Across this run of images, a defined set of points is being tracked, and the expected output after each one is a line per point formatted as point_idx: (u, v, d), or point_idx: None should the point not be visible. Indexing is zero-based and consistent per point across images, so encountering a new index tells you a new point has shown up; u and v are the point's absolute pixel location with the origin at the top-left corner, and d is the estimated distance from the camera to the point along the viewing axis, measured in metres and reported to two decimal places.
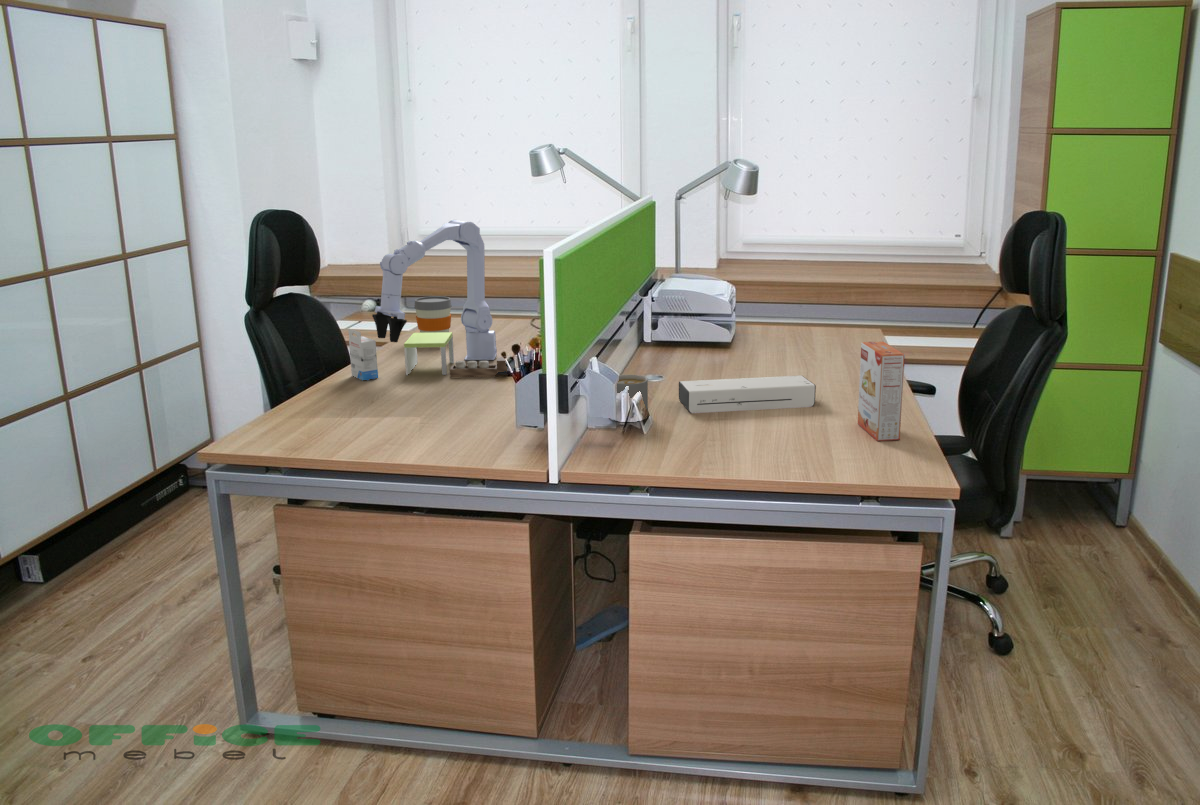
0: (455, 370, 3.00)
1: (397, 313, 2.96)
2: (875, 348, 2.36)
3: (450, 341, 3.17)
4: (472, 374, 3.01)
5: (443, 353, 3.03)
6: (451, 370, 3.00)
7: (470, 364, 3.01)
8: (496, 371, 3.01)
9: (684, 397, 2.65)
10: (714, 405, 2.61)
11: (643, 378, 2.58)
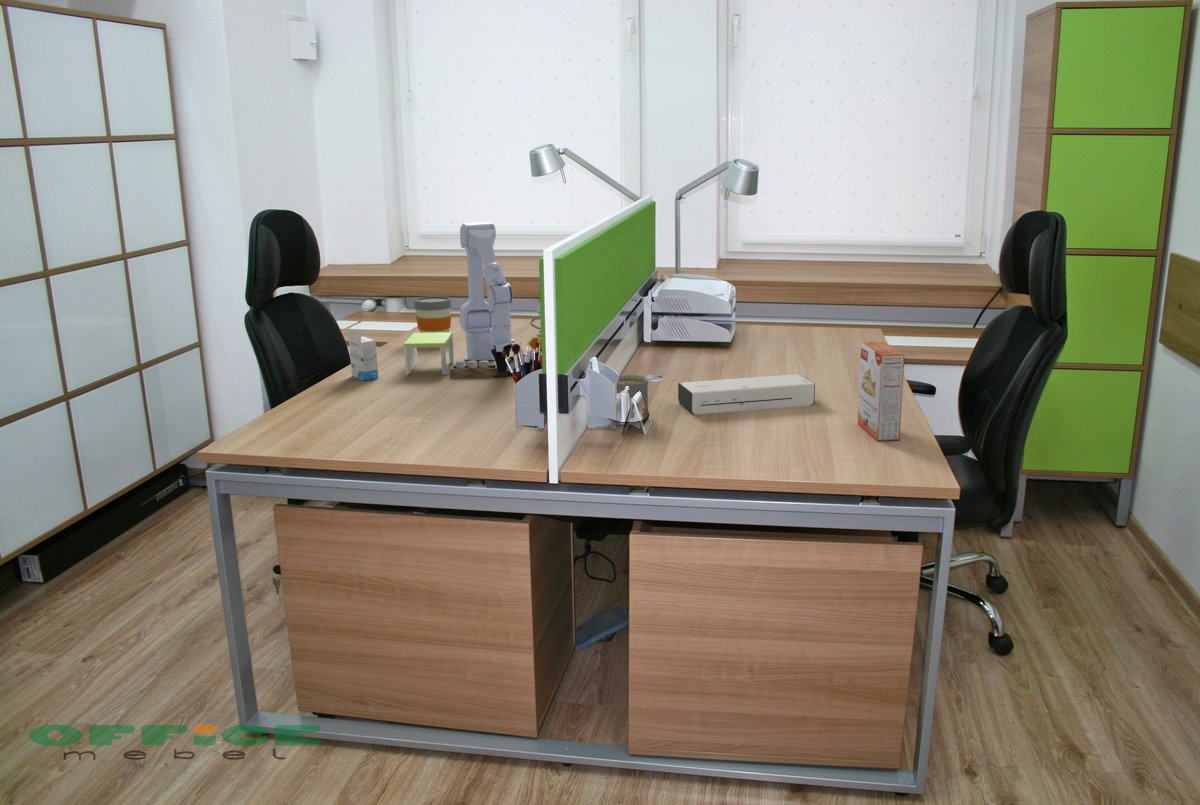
0: (455, 370, 3.00)
1: None
2: (875, 348, 2.36)
3: (450, 341, 3.17)
4: (472, 373, 3.01)
5: (443, 353, 3.03)
6: (451, 370, 3.00)
7: (470, 364, 3.01)
8: (496, 371, 3.01)
9: (686, 398, 2.63)
10: (717, 406, 2.61)
11: (643, 378, 2.58)
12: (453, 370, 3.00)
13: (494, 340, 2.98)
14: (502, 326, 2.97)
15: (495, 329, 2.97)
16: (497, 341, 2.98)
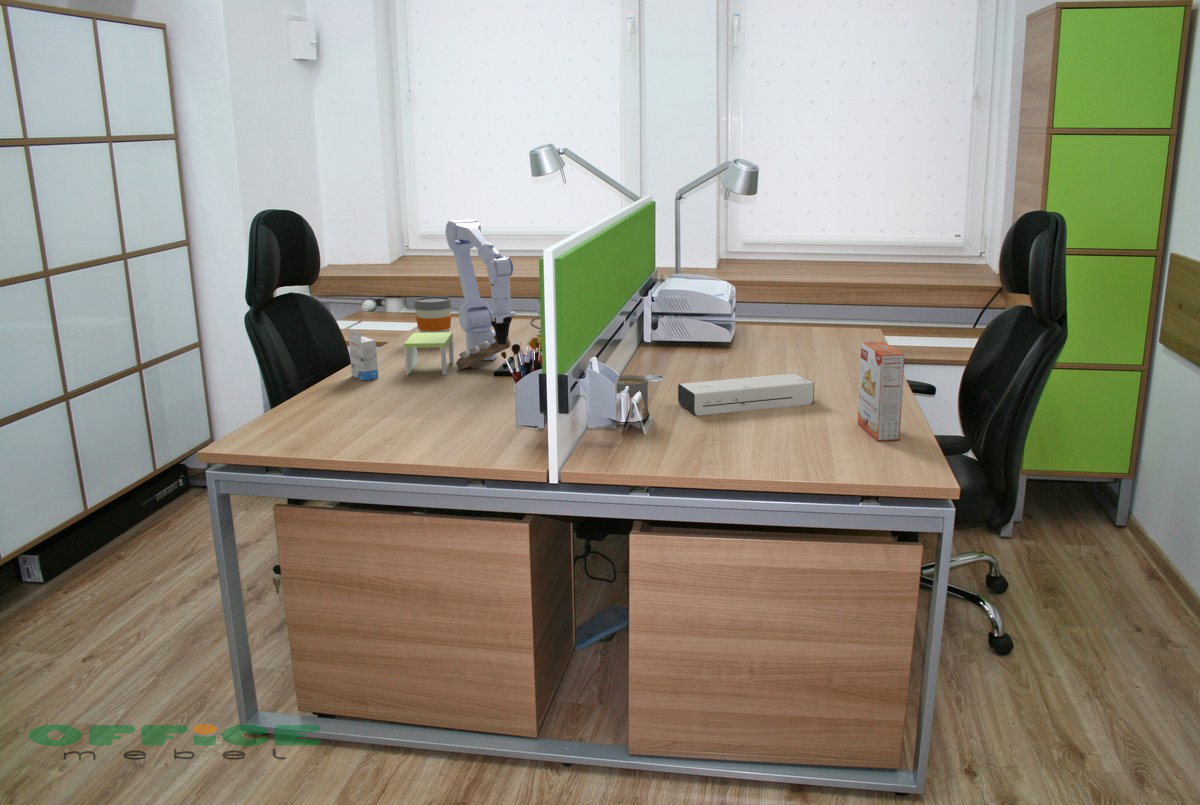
0: (461, 361, 3.09)
1: None
2: (875, 348, 2.36)
3: (450, 341, 3.17)
4: (477, 358, 3.09)
5: (443, 353, 3.03)
6: (457, 363, 3.09)
7: (472, 350, 3.09)
8: (497, 346, 3.08)
9: (687, 399, 2.62)
10: (719, 406, 2.60)
11: (643, 378, 2.58)
12: (459, 362, 3.09)
13: (494, 312, 3.05)
14: (504, 298, 3.04)
15: (495, 301, 3.04)
16: (497, 313, 3.05)
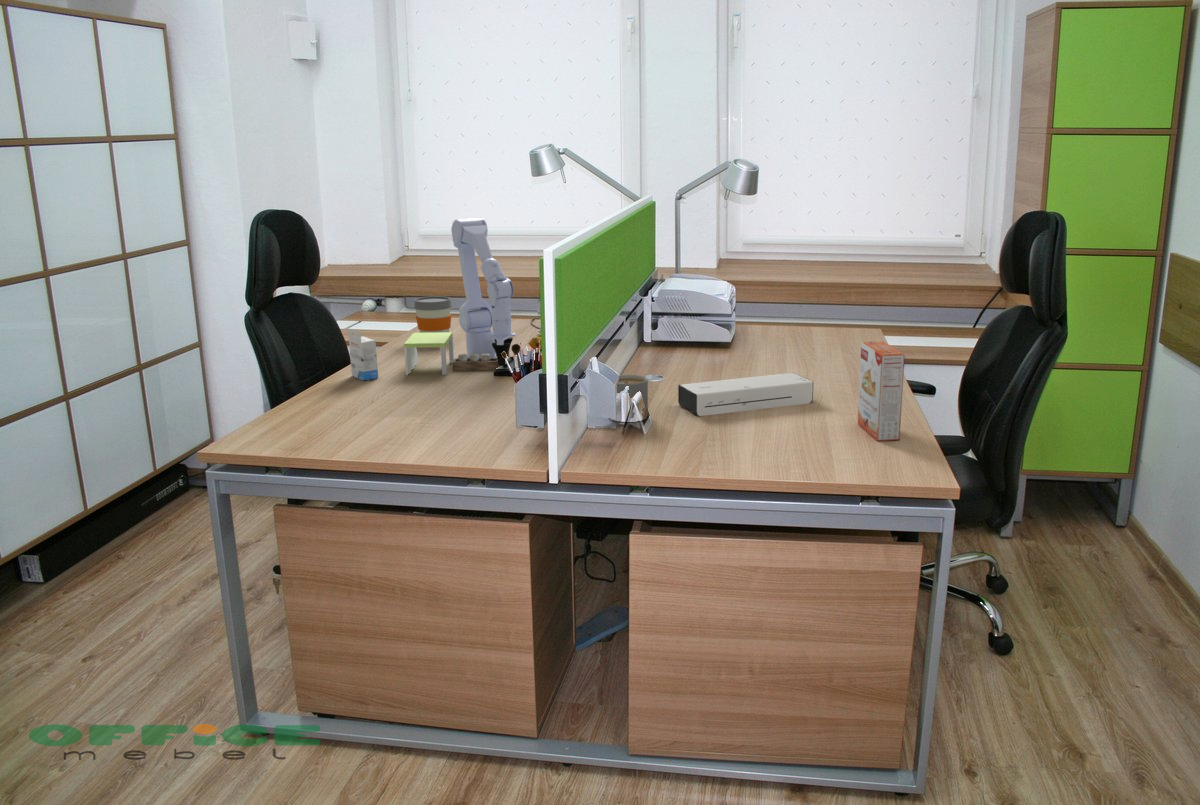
0: (457, 363, 3.09)
1: None
2: (875, 348, 2.36)
3: (450, 341, 3.17)
4: (474, 366, 3.09)
5: (443, 353, 3.03)
6: (454, 363, 3.09)
7: (472, 357, 3.10)
8: (497, 364, 3.09)
9: (688, 400, 2.61)
10: (720, 407, 2.60)
11: (643, 378, 2.58)
12: (456, 363, 3.09)
13: (495, 334, 3.07)
14: (504, 320, 3.05)
15: (496, 323, 3.06)
16: (498, 335, 3.07)
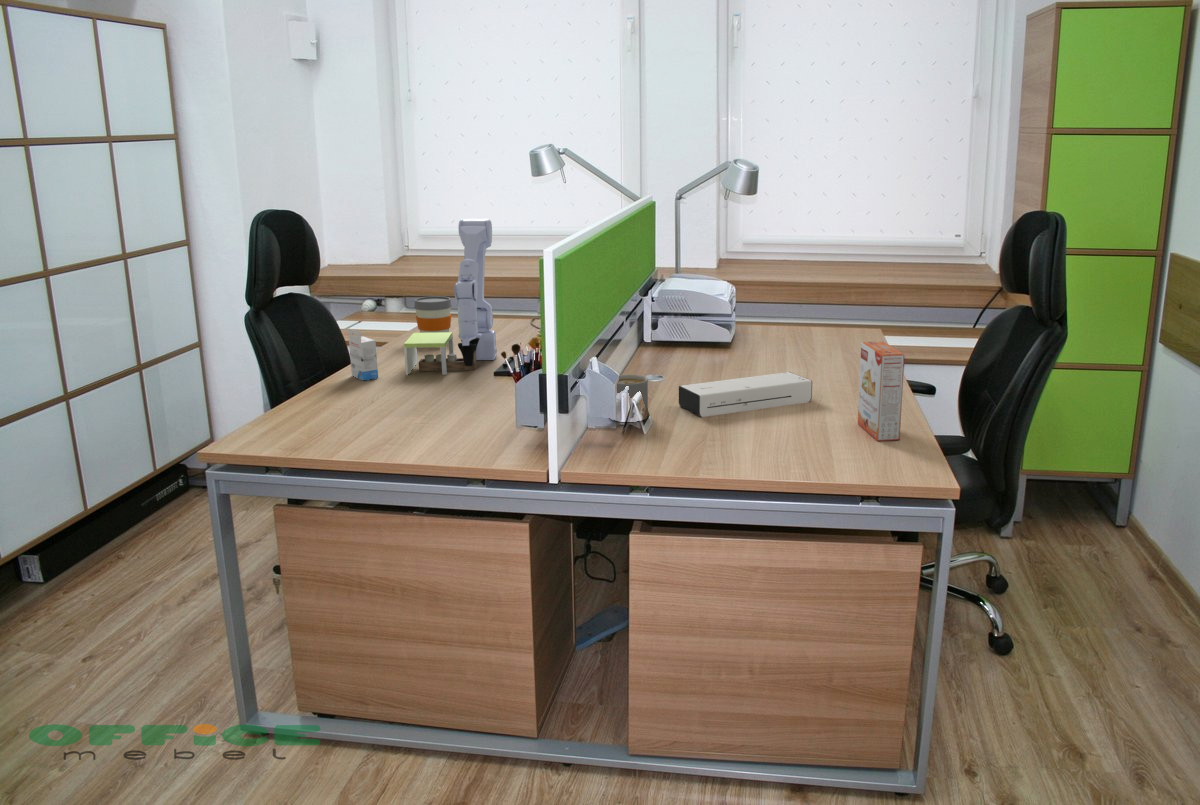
0: (424, 363, 3.09)
1: None
2: (875, 348, 2.36)
3: (450, 341, 3.17)
4: (440, 367, 3.10)
5: (443, 353, 3.03)
6: (420, 363, 3.09)
7: (438, 357, 3.10)
8: (463, 364, 3.09)
9: (690, 401, 2.61)
10: (723, 407, 2.59)
11: (643, 378, 2.58)
12: (422, 363, 3.09)
13: (461, 334, 3.07)
14: (464, 321, 3.05)
15: (462, 324, 3.06)
16: (464, 335, 3.07)
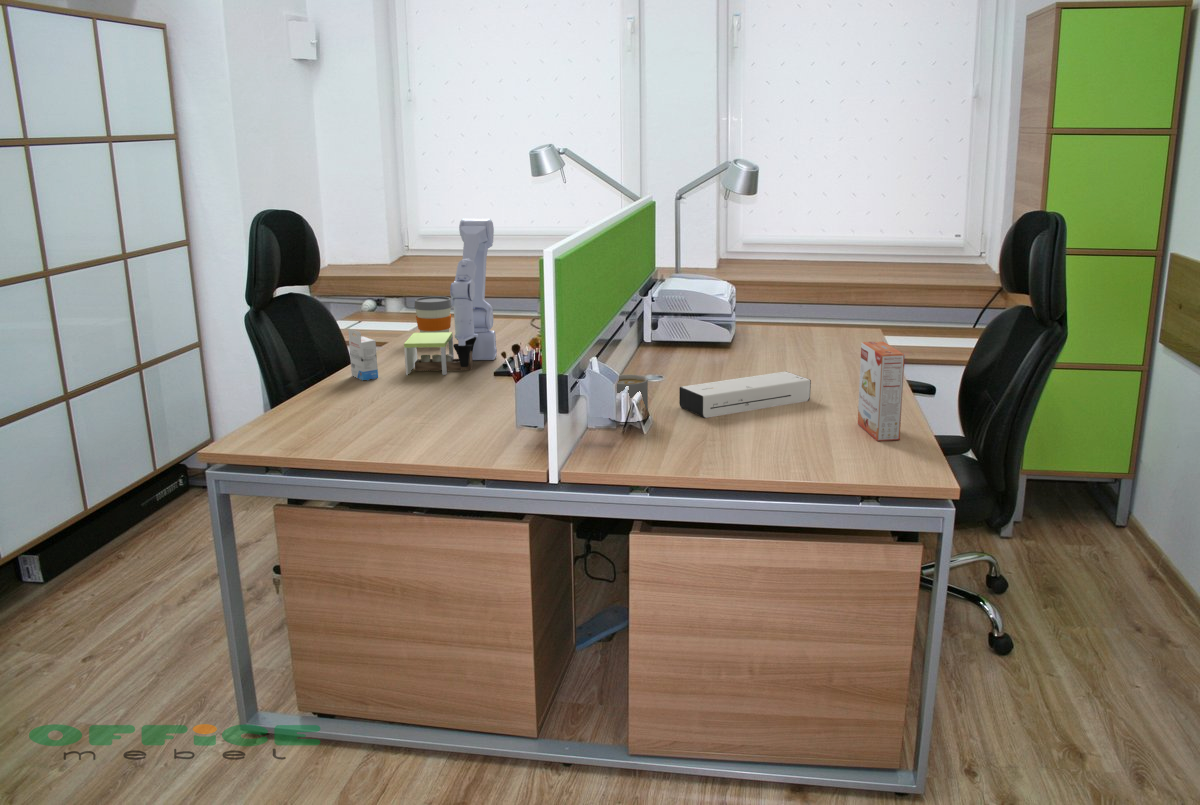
0: (420, 363, 3.09)
1: None
2: (875, 348, 2.36)
3: (450, 341, 3.17)
4: (436, 367, 3.10)
5: (443, 353, 3.03)
6: (416, 363, 3.09)
7: (435, 358, 3.10)
8: None
9: (693, 402, 2.60)
10: (725, 408, 2.59)
11: (643, 378, 2.58)
12: (418, 364, 3.09)
13: (457, 334, 3.07)
14: (459, 321, 3.05)
15: (458, 324, 3.06)
16: (460, 335, 3.07)
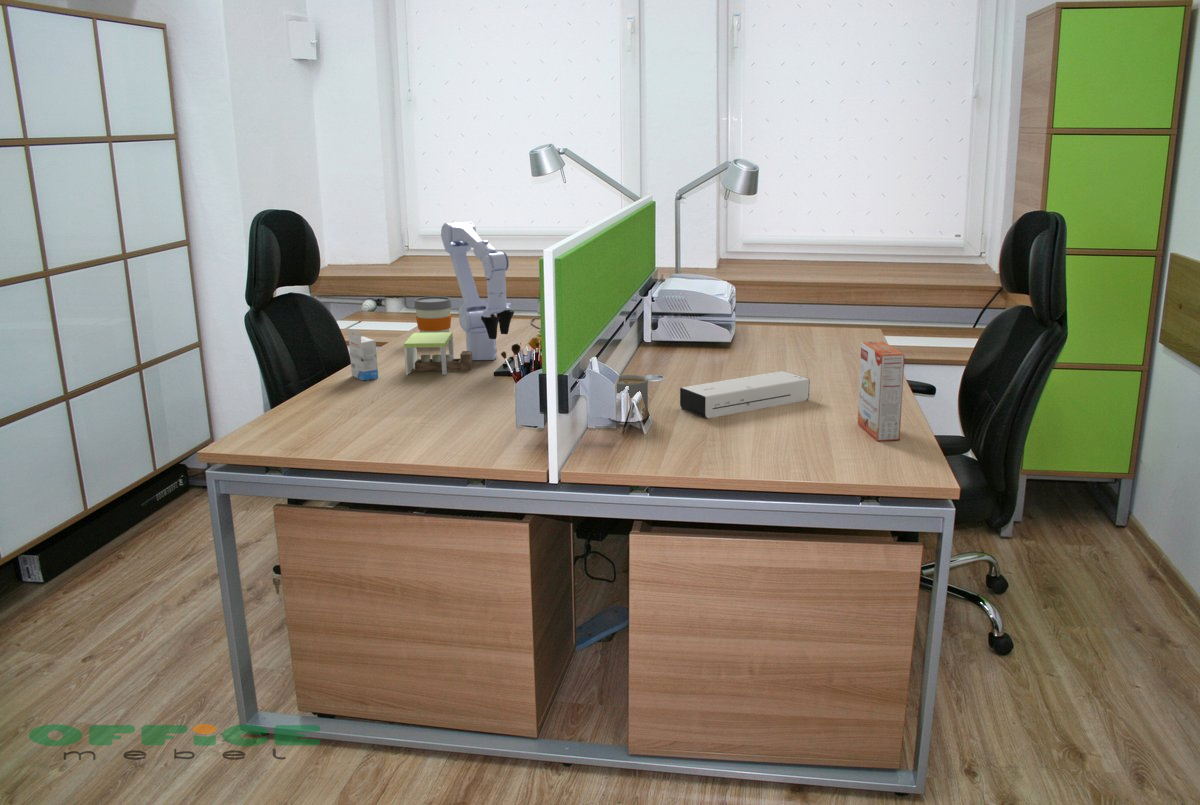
0: (420, 363, 3.09)
1: (510, 304, 3.15)
2: (875, 348, 2.36)
3: (450, 341, 3.17)
4: (436, 367, 3.10)
5: (443, 353, 3.03)
6: (416, 363, 3.09)
7: (435, 358, 3.10)
8: (460, 364, 3.09)
9: (694, 403, 2.59)
10: (727, 408, 2.59)
11: (643, 378, 2.58)
12: (418, 364, 3.09)
13: (488, 306, 3.08)
14: (499, 293, 3.05)
15: (488, 295, 3.06)
16: (490, 307, 3.07)
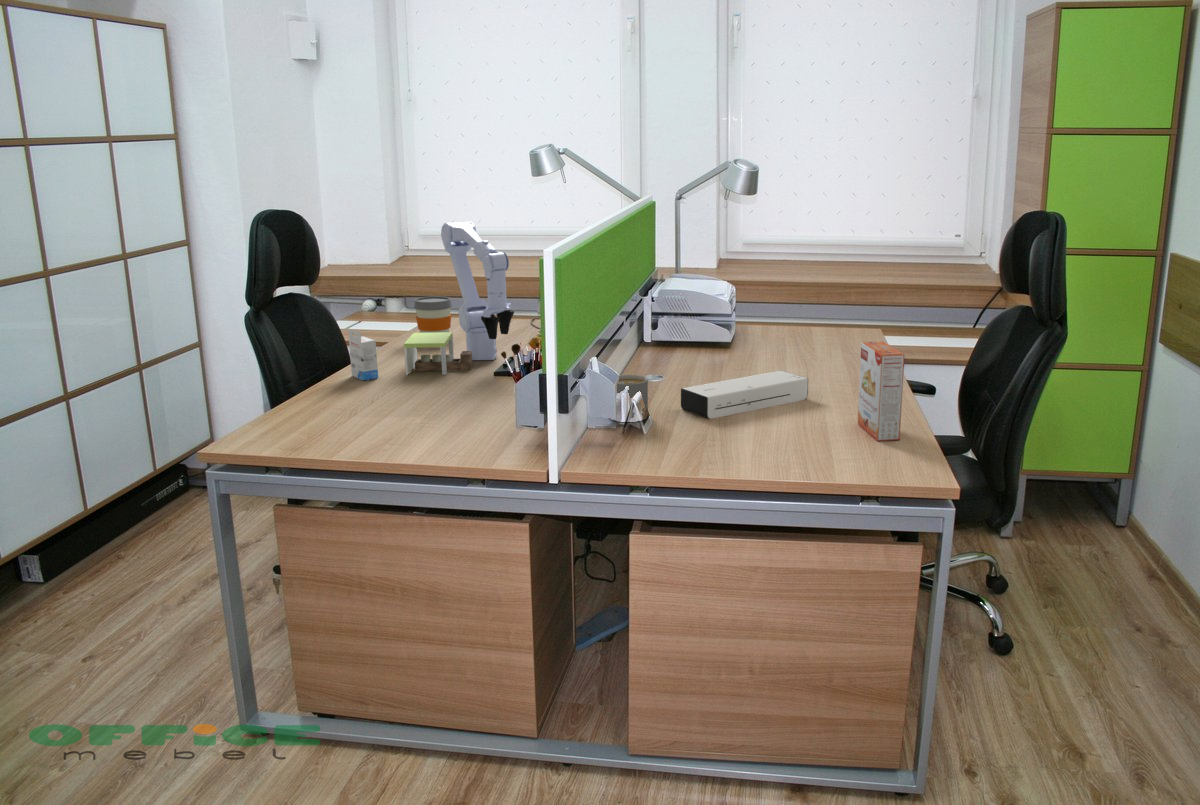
0: (420, 363, 3.09)
1: (510, 304, 3.15)
2: (875, 348, 2.36)
3: (450, 341, 3.17)
4: (436, 367, 3.10)
5: (443, 353, 3.03)
6: (416, 363, 3.09)
7: (435, 358, 3.10)
8: (460, 364, 3.09)
9: (696, 403, 2.58)
10: (728, 408, 2.58)
11: (643, 378, 2.58)
12: (418, 364, 3.09)
13: (488, 306, 3.08)
14: (499, 293, 3.05)
15: (488, 295, 3.06)
16: (490, 307, 3.07)
